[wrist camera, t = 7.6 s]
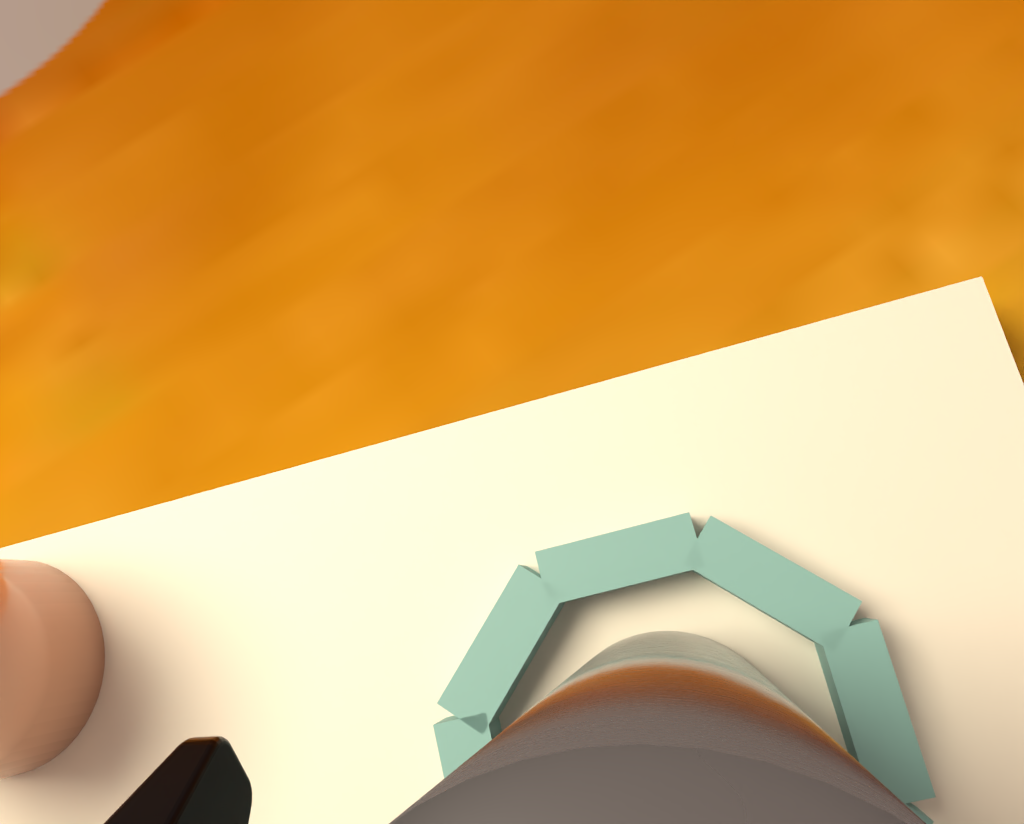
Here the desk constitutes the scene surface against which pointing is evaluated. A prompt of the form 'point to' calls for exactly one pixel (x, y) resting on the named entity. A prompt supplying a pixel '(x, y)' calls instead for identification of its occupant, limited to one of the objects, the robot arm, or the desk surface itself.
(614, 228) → the desk surface
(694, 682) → the shiny metal cylinder
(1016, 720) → the board
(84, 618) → the peach rounded cylinder
